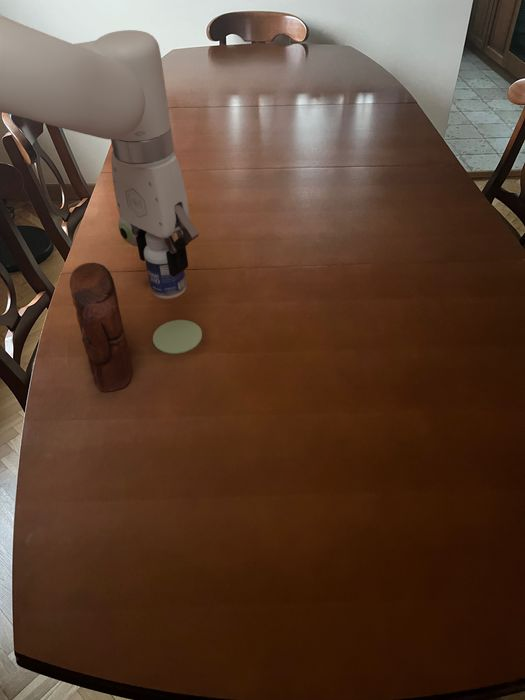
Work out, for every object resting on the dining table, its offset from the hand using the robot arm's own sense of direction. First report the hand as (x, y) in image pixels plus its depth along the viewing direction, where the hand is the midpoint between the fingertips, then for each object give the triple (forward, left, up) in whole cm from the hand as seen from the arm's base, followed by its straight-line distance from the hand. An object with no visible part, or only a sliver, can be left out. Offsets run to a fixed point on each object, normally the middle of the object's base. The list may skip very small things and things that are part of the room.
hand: (164, 262), depth 86 cm
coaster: (0, 0, -15) cm, 15 cm away
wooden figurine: (-11, +3, -15) cm, 19 cm away
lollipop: (+8, +15, -15) cm, 23 cm away
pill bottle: (0, 0, -5) cm, 5 cm away
